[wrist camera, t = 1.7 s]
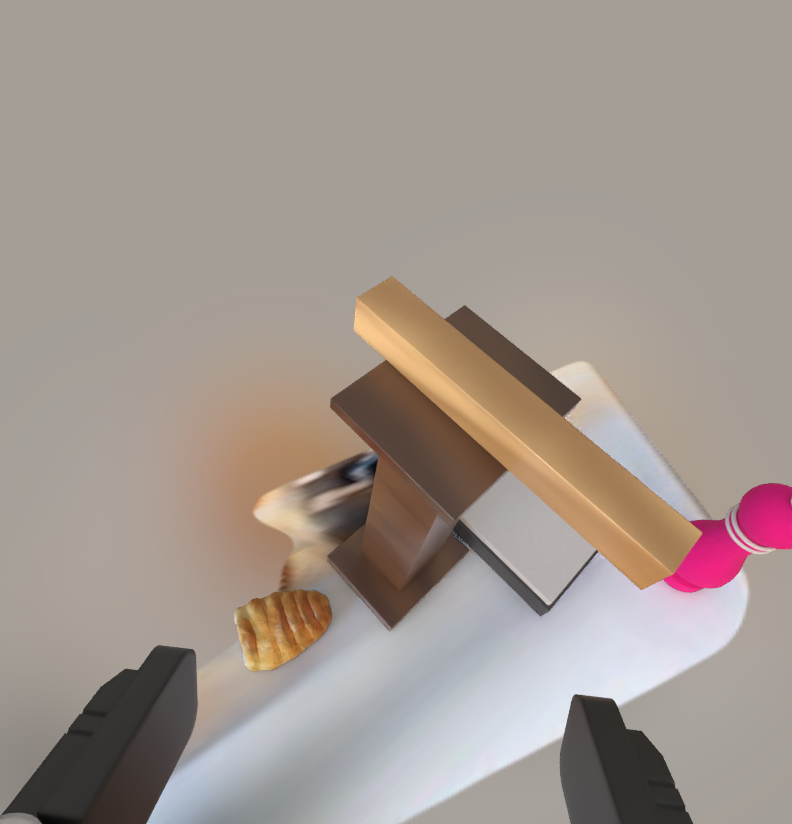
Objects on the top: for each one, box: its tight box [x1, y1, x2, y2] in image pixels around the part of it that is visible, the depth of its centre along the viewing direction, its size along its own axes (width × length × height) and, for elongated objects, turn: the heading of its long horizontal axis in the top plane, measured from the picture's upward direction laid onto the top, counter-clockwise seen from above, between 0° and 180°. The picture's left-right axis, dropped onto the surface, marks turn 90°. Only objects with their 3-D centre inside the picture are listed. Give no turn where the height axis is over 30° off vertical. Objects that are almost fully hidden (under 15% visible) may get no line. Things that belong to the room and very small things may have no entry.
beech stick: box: [354, 276, 702, 590], centre depth 30 cm, size 3×22×3 cm, turn 44°
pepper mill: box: [664, 483, 792, 592], centre depth 54 cm, size 7×7×20 cm
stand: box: [327, 306, 581, 631], centre depth 46 cm, size 12×10×32 cm
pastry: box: [234, 590, 332, 671], centre depth 52 cm, size 9×7×4 cm
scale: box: [453, 471, 598, 616], centre depth 61 cm, size 10×18×4 cm, turn 44°
